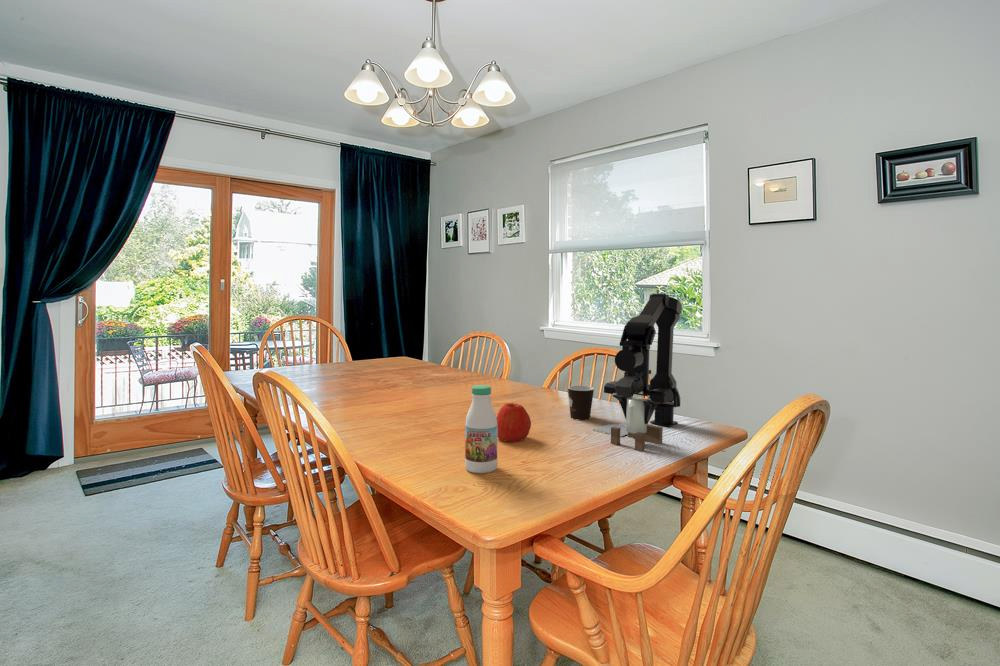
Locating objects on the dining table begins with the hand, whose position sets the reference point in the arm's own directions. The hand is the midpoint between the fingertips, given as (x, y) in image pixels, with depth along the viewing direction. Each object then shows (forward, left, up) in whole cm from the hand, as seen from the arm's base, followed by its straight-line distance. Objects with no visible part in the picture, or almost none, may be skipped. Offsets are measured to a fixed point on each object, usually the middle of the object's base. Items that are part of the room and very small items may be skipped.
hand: (636, 421), depth 146 cm
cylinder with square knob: (0, 0, -3) cm, 3 cm away
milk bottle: (+45, -15, -6) cm, 48 cm away
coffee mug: (-13, -29, -6) cm, 32 cm away
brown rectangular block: (0, 0, -6) cm, 6 cm away
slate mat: (-7, -11, -6) cm, 14 cm away
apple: (+22, -27, -6) cm, 35 cm away
